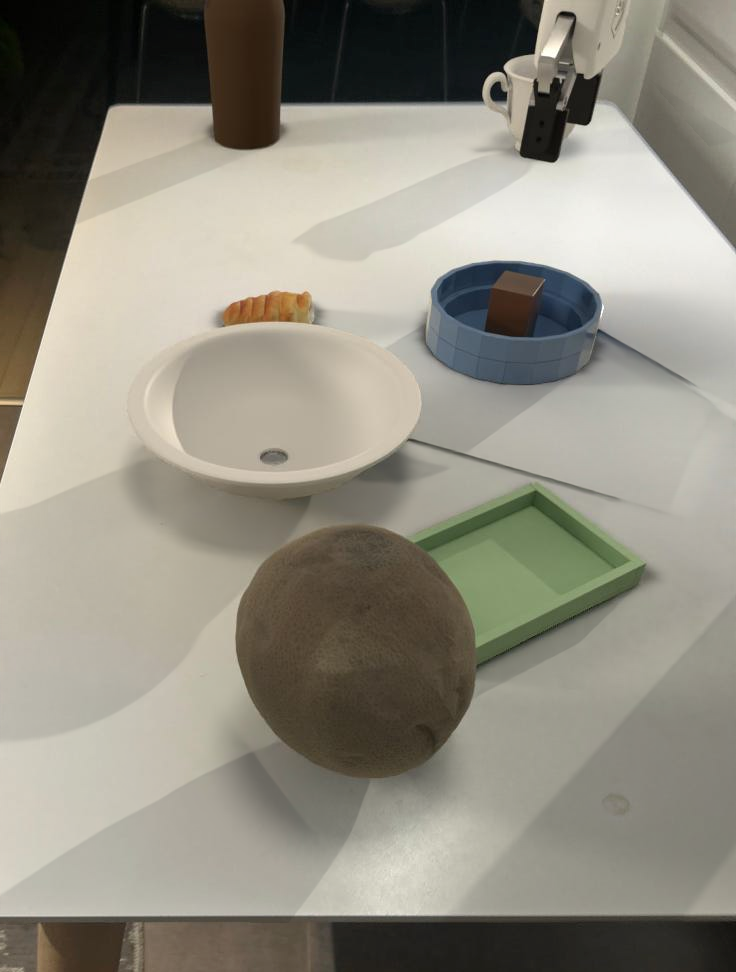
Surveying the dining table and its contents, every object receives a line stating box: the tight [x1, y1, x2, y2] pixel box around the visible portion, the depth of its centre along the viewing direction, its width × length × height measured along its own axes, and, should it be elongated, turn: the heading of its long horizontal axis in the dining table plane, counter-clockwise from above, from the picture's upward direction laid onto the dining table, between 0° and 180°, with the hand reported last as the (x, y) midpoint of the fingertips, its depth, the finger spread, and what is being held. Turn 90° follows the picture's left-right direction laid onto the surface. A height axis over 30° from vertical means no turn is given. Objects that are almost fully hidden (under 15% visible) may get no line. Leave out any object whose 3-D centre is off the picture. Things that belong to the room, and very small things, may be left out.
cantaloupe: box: [234, 523, 477, 780], centre depth 56 cm, size 14×14×15 cm
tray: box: [405, 481, 647, 666], centre depth 71 cm, size 18×12×2 cm, turn 121°
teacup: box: [482, 53, 599, 152], centre depth 128 cm, size 12×15×10 cm
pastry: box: [221, 290, 315, 327], centre depth 97 cm, size 9×7×4 cm
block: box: [484, 271, 545, 338], centre depth 93 cm, size 4×4×6 cm
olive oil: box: [203, 0, 286, 150], centre depth 127 cm, size 11×11×25 cm
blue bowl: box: [424, 259, 605, 385], centre depth 94 cm, size 16×16×5 cm
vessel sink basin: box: [126, 322, 423, 500], centre depth 80 cm, size 24×24×7 cm
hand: (555, 140), depth 82 cm, fingers open, 9 cm apart
